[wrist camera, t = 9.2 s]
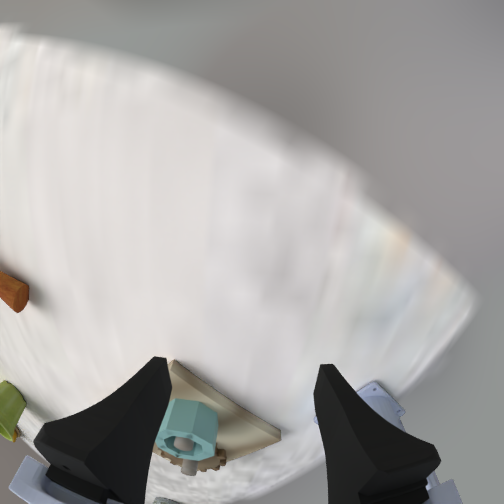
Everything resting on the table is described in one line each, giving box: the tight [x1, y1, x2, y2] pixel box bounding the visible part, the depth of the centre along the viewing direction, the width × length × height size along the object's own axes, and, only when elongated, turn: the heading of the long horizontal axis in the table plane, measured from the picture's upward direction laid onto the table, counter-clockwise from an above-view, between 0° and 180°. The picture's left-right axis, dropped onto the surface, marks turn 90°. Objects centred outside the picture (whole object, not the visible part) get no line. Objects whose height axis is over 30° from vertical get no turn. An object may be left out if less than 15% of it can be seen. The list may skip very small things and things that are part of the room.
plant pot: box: [0, 381, 26, 441], centre depth 25 cm, size 9×9×9 cm
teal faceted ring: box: [155, 398, 218, 461], centre depth 22 cm, size 6×6×4 cm
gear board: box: [152, 360, 281, 476], centre depth 24 cm, size 15×16×6 cm
